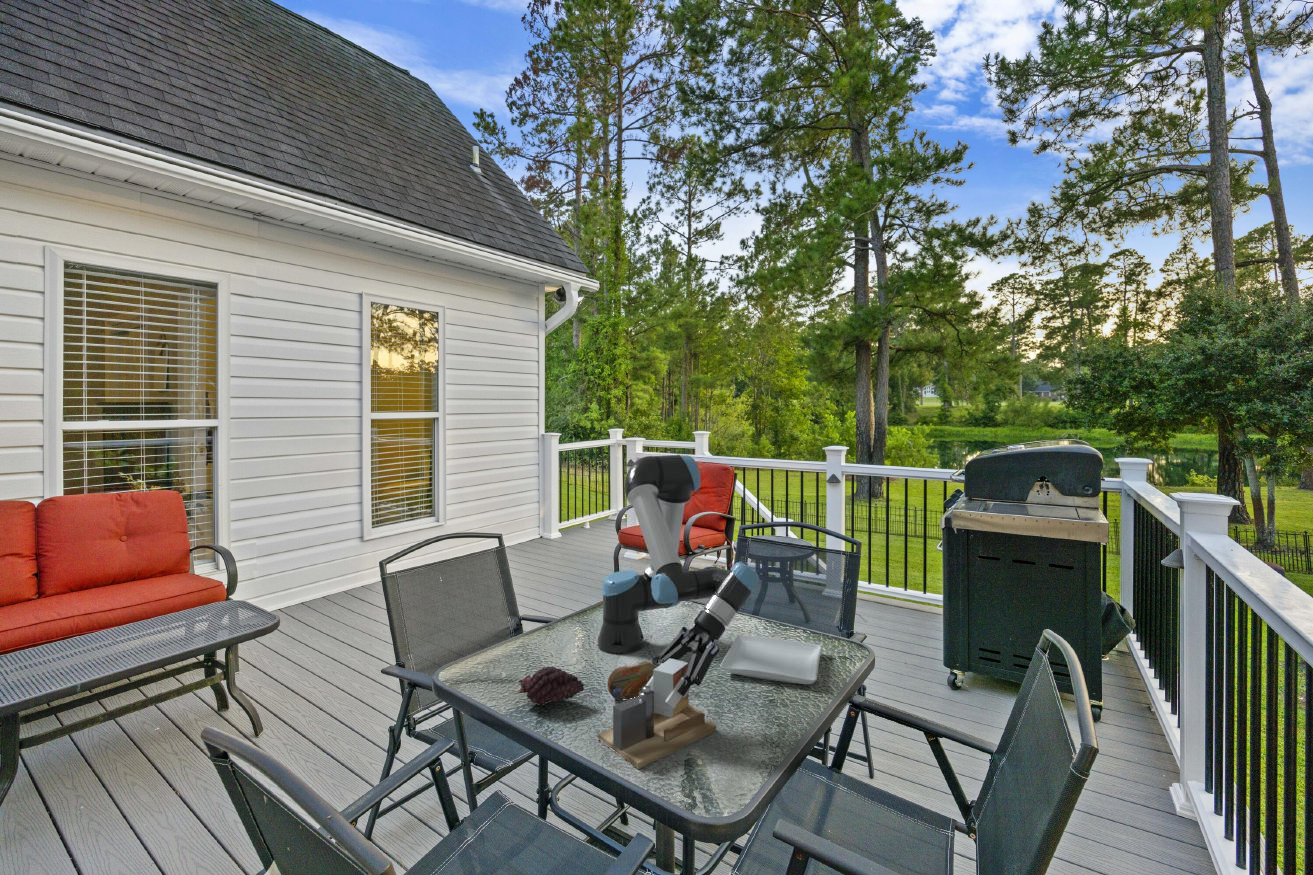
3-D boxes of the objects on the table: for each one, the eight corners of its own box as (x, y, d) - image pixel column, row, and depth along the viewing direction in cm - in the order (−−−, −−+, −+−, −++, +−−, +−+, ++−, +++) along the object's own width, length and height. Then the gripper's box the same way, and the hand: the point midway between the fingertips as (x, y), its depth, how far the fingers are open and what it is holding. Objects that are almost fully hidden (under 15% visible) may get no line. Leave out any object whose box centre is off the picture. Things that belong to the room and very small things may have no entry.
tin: (610, 704, 158) (610, 672, 157) (605, 699, 160) (605, 668, 160) (661, 691, 164) (661, 661, 164) (655, 687, 167) (655, 657, 167)
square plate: (816, 693, 164) (816, 679, 164) (718, 678, 173) (718, 665, 173) (822, 654, 190) (822, 642, 190) (737, 643, 199) (737, 632, 199)
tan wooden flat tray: (598, 740, 140) (598, 723, 140) (674, 707, 156) (674, 692, 156) (637, 769, 129) (637, 751, 129) (716, 730, 144) (716, 714, 144)
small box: (672, 718, 140) (672, 674, 139) (652, 712, 143) (652, 669, 142) (689, 704, 146) (689, 662, 146) (669, 698, 149) (669, 657, 149)
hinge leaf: (612, 744, 136) (612, 695, 135) (647, 728, 143) (647, 682, 142) (622, 751, 133) (621, 701, 133) (657, 734, 140) (657, 687, 139)
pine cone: (587, 696, 161) (587, 660, 161) (579, 715, 151) (579, 677, 151) (523, 694, 163) (522, 658, 162) (511, 712, 153) (510, 674, 152)
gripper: (749, 640, 142) (693, 724, 135) (699, 614, 161) (647, 687, 153) (731, 622, 139) (673, 707, 132) (682, 598, 158) (628, 671, 150)
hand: (659, 696), depth 143 cm, fingers closed on small box, 8 cm apart
